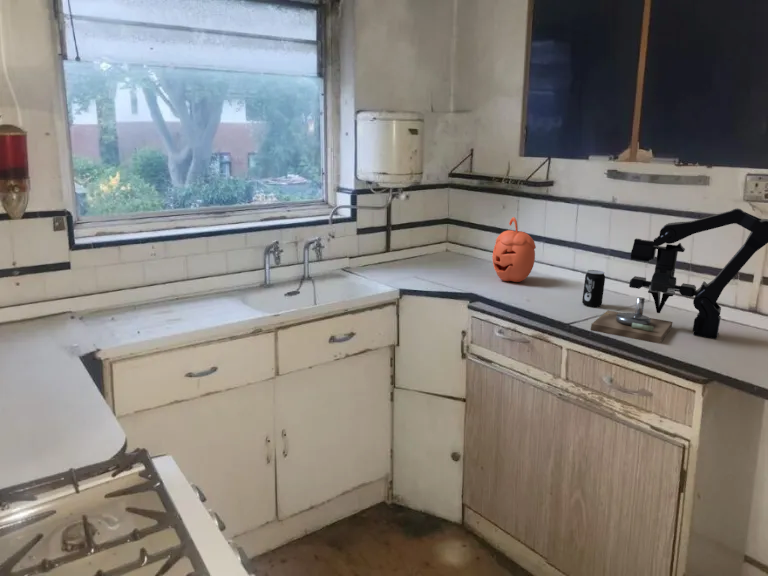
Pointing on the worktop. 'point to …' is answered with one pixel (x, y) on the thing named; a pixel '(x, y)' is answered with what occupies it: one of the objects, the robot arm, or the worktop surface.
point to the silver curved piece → (634, 315)
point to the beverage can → (593, 288)
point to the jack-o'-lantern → (513, 254)
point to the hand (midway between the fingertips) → (658, 312)
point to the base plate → (632, 328)
